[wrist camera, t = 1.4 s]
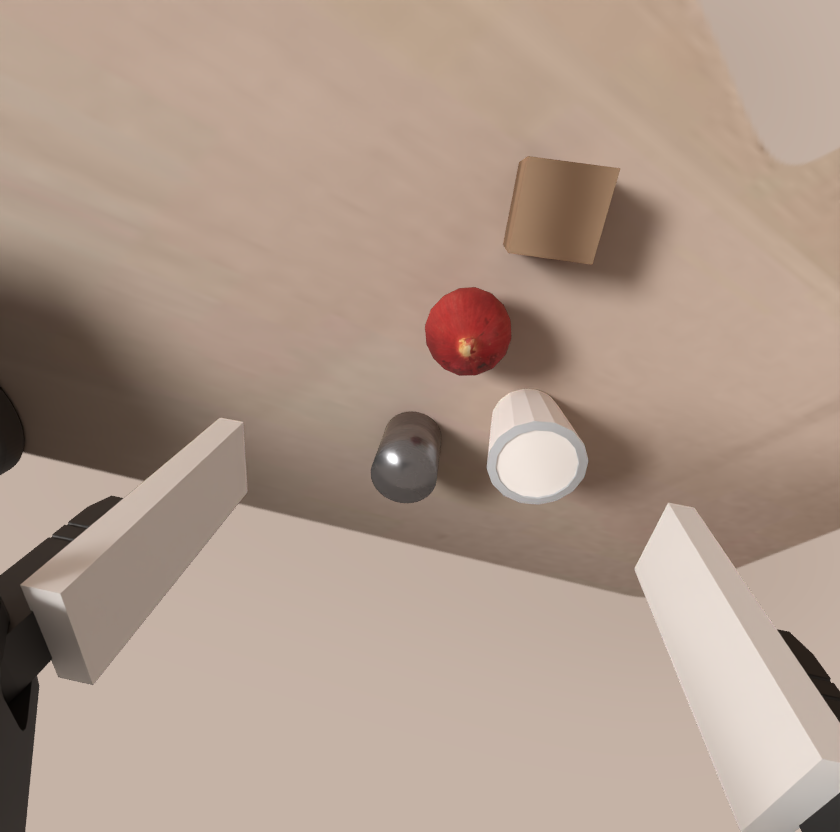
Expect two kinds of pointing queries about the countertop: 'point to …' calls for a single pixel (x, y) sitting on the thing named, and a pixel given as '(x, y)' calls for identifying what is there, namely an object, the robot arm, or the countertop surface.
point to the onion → (468, 331)
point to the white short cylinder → (534, 449)
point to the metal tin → (407, 458)
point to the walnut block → (559, 209)
